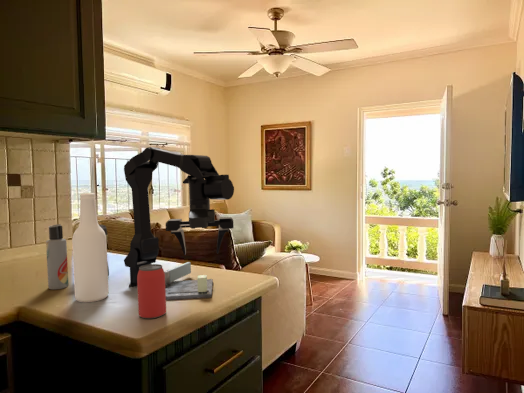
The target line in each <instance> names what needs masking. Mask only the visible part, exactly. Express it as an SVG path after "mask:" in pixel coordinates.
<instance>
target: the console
mask: <svg viewBox="0 0 524 393" xmlns="http://www.w3.org/2000/svg"><path fill="white" fill-rule="evenodd" d="M213 283H214V282H213V279H212V278H210V279H208V278H207V292H198V281H197V279H193V280H175V281H172V282H170V284H165V291H166V301H174V300H175V301H177V300H178V301H179V300H192V299H193V300H194V299H209V298H212V294H213V285H214V284H213Z"/></svg>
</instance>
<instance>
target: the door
mask: <svg viewBox="0 0 524 393" xmlns="http://www.w3.org/2000/svg"><path fill="white" fill-rule="evenodd" d="M164 273H165V284H170V282H172V281H178V280H179V279H181V278H183V277H186V276H188V275H190V274H192V265H191V262H190V261H187V262H185V263H183V264H180V265H179V264H178V265H177V266H174V267H171V268H169V269H167V270H166V271H165V270H164Z"/></svg>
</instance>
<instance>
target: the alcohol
mask: <svg viewBox="0 0 524 393" xmlns="http://www.w3.org/2000/svg"><path fill="white" fill-rule="evenodd" d="M95 196H96V193H95V192H88V193H83V192H82V193H80V194H79V197H80V198H79V200H80V202H79V203H80V204H79V207H80V208H79V224H78V227H77V228H76V229H75V230H74V233H73V234H72V239H71V243H72V259H73V260H72V262H73V282H74V284H73V286H74V299H75V300H76V301H77V302H79V303H93V302H94V303H95V302H98V301H99V302H100V301H102V300H104V299H106V298H107V297H108V296H109V276H108V268H109V265H108V266H107V261H108V248H107V247H108V246H107V240H106V234H105V232H104V230H103V229H102V228H101V227H100V226H99V225H100V224H99V222H98V221H99V220H98V215H97V213H98V212H97V207H96V206H97V205H96V197H95Z"/></svg>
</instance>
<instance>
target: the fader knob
mask: <svg viewBox="0 0 524 393" xmlns="http://www.w3.org/2000/svg"><path fill="white" fill-rule="evenodd" d="M207 276H208V275H207V274H202V275H201V274H200V275H199V274H198V275H197V278H196V280H197V281H198V292H207V279H208V277H207Z"/></svg>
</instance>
